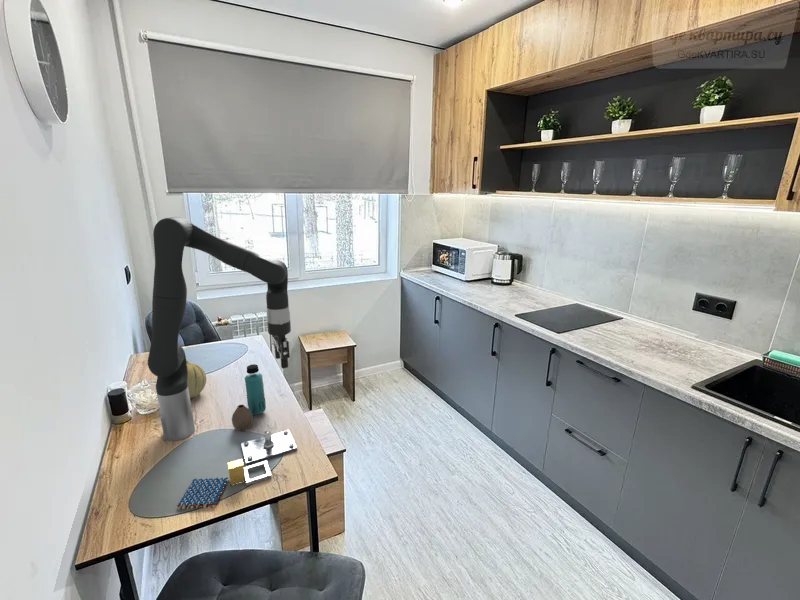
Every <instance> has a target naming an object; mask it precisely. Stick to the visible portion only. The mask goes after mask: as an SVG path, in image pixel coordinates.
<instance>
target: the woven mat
mask: <svg viewBox="0 0 800 600" xmlns="http://www.w3.org/2000/svg"><path fill="white" fill-rule="evenodd" d="M227 479H228V481H229V482H230V479H229V477H223V476H222V477H219V478H218V476H217V477H214V478H213V477H211V478H210V477H209V478H208V477H206V478H203V477H201V478H194V479H192V480H191V483H190V485H189V486H188V488H187V489H186V491H185V493H184V494H183V496H182V497H181V498H180V499H181V500H180V501H179V502H178V504H177V505H176V506H177V507H178V509H177V510H183V509H186V510H189V509H194V508H193V507H196V508H195V509H198V508H200V507H201V506H202V508H204V509H205V508H207V509H210V507H211V506H212V508H215V507H216V506H217V505H218V503H219V501H220V499H221V497H222V495H223V494H222V493H223V492H224V491H223V489H224V488H226V487H225V486H227V485H226V484H228V483H227ZM202 482H203V483H202ZM224 483H226V484H224ZM222 487H224V488H222ZM190 489H191V490H190ZM224 490H225V489H224ZM222 491H223V492H222ZM204 492H205V493H204ZM221 492H222V493H221ZM210 494H211V495H210ZM218 496H219V497H218ZM210 505H211V506H210ZM206 506H207V507H206ZM185 507H186V508H185ZM189 507H190V508H189ZM197 507H198V508H197ZM188 508H189V509H188Z"/></svg>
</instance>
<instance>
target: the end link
mask: <svg viewBox="0 0 800 600" xmlns="http://www.w3.org/2000/svg"><path fill="white" fill-rule="evenodd" d="M227 468H228V475H229V482H230V486H231V485H233V484H236V483H239V482H243V481H246V482H245V484H246V486H247V485H249V486H251V485H250V484H252V485H254V483H255V484H257V482H258V483H260V482H264V481H266V480H269V479H272V473H271V469H270V467H269V463H268V460H264V461H260V462H257V463H254V464H251V465H247V466H245V465H244V461H243V458H239V459H236V460H232V461H230V462H229V461H228V462H227ZM262 468H264V471H265V472H266V473H265V474H261V475H258V476H256V477H253V478H250V477H249V472H252V471H255V470H257V469H262ZM251 470H252V471H251ZM248 471H249V472H248ZM243 483H244V482H243Z"/></svg>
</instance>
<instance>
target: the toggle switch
mask: <svg viewBox="0 0 800 600" xmlns="http://www.w3.org/2000/svg"><path fill="white" fill-rule="evenodd" d="M263 435H264V436H262V437H258V438H255V439H251V440H247V441H244V442H241V443H240V445H241V450H242V454H243V459H245V460H244V462H245V466H246V465H247V466H250V464H251V465H254V464H257V463H260V462H263V461H268V460H269V459H273V458H276V457H277V458H278V457H279V456H282V455H286V454H289V453H292V452H295V451H298V446H297V444H296V442H295V439H294V438H293V434H292V433H291V431H290V429H286V430H283V431H280V432H276V433H273V434H272V431H271V430H266V431H264V434H263ZM253 463H254V464H253Z"/></svg>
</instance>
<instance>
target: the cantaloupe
mask: <svg viewBox="0 0 800 600" xmlns="http://www.w3.org/2000/svg"><path fill="white" fill-rule="evenodd" d="M186 362H187V370H188V379H187V383H188V389H189V395H190V399H191V398H195V397H197V396H198V395H199V394H200V393H201V392H203V390H204V389H205V387H206V384H207V373H206V372H205V370H204V369H203V368H202V367H201V366H200V365H199V364H196V363H193V362H189V361H188V360H187V359H186Z"/></svg>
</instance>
